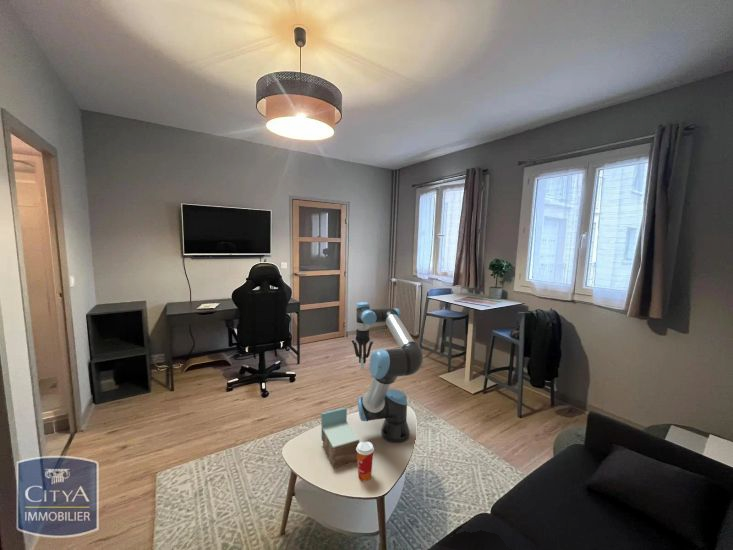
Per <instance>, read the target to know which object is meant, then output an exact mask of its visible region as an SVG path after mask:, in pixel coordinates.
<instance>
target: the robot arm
mask: <svg viewBox="0 0 733 550" xmlns="http://www.w3.org/2000/svg"><path fill="white" fill-rule="evenodd" d="M370 308H371V306H370V303H369V302H366V301H365V302H364V301H360V302H357V303H356V308H355V311H356V312H355V313H356V318H355V319H356V322H355V323H356V324H355V325H356V326H355V328H356V330H355V333H356V334H355V335H356V336H355V338H354V339H352V340H351V343H352V344H353V349H354V353H355V356H356V357H357V358H358V362H359V364H360V370H364V369H365V364H366V362H367V358H369V363H368V364H369V366H368V367H369V373H370V376H371V377H372V379H371V382H370V385H369V387H368V390H367V391H366V392H364V395H362V396H359V397H358V398H357V409H358V415H359V418H360V421H361V422H369V421H375V420H376V421H377V420H383V419H384V420H383V424H382V426H381V431H380V432H381V437H382V438H383V439H385V441H387V442H391V443H397V444H399V443H403V442H406V441H407V440H409V438H410V432H411V431H410V427H409V424H408V420H407V415H408V414H407V413H408V398H407V394H406V393H404V391H402V390H399V389H395V388H390V385H392V384H393V383H395V382H396V380H397V379H398V378H399V377H406V376H412V375H414V374H416V373H417V372H418V371H419V370H420V369H421V367H422V365H423V362H424V353H423V350H422V347H421V346H420V345H419V343H418V342H416V341H414V339H413V338H412V336H411V334H410V332H409V331H408V330H407V328H406V326H405V325H404V324H403V322H402V321H401V317H402V316H401V315H402V314H401V313H402V312H401V310H400V309H399V308H398V307H397V308H394V307H393V308H392V307H390V308H371V309H370ZM375 323H377V324H378V323H385V324H386V325H387V327H388V329H389V331H390V333H391V334H392V335H391V336H393V338H394V340H395V342H396V344H397V346H398V348H391V349H389V348H388V349H377V350H374V351H372V353H371V349H372V346H373V344H374V340H371V338H370V326H371V325H374V324H375ZM367 344H369V345H368V348H367ZM370 353H371V355H370ZM369 356H370V357H369Z"/></svg>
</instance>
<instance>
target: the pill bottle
mask: <svg viewBox="0 0 733 550" xmlns="http://www.w3.org/2000/svg"><path fill="white" fill-rule="evenodd" d="M359 442H360V443H359V444H358V445H357V448H356V450H357V460H358V461H357V475H358V479H359V480H361V481H362V482H368V481H370V479H371V478H372V473H373V472H372V471H373V456H374V451H375V447H374V445H373V443H372V442H370V441H359Z"/></svg>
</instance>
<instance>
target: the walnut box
mask: <svg viewBox="0 0 733 550" xmlns="http://www.w3.org/2000/svg"><path fill="white" fill-rule="evenodd" d="M360 442H361V441H360V440H359V441H357V442H354V443H350V444H347V445H343V446H340V447H336V448H333V447H332V446H331V444H330V442H329V440H328V438H327V437H326V435H325V433H324V431H323V441H322V448H323V449H322V450H323V451H324V453H325V455H326V457H327V458H328V461H329V462H330V464H331V466H332V468H333V469H337V468H341V467H343V466H347V465H350V464H354V463H356V462H357V463H358V460H357V450H356V448H357V445H358V444H359V443H360Z"/></svg>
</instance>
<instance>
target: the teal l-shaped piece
mask: <svg viewBox="0 0 733 550" xmlns="http://www.w3.org/2000/svg"><path fill="white" fill-rule="evenodd" d="M347 410H348V409H347V407H345V406H344V407H341V408H336V409H332V410H328V411H324V412H321V414H320V415H321V421H320V422H321V441H322V442H323V431H324V433H325V435H326V437H327V438H328V440H329V442H330V444H331V446H332V447H333V448H336V447H340V446H343V445H347V444H350V443H354V442H357V441H359V442H360V438H359V437H358V435H357V434H356V432H355V431H354V430H353V428H352V426H351V425H350V424H349V423H348V421H347V416H348V414H347V412H348V411H347Z"/></svg>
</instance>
